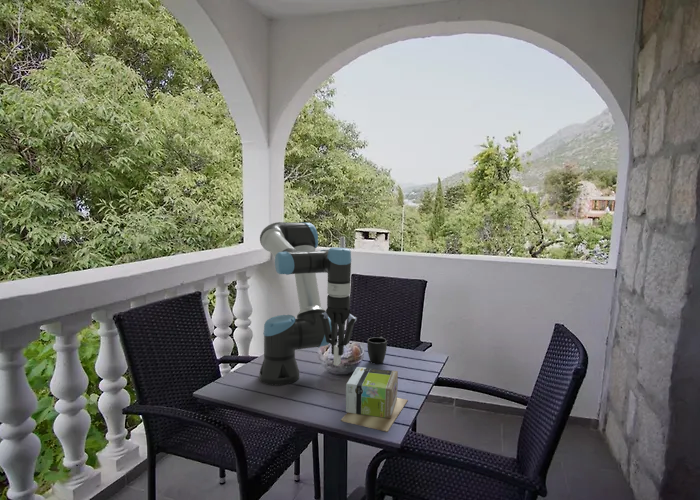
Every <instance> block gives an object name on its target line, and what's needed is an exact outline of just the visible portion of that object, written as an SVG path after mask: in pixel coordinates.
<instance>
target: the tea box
mask: <svg viewBox="0 0 700 500" xmlns="http://www.w3.org/2000/svg"><path fill="white" fill-rule="evenodd" d="M398 372H399V371H397V370H391V369H390V370H389V369H381V368H372V367H371V368H369V367H362V366H356V368H355V370H354V371H353V373H352V375H351V376H350V377H349V379H348V381H347V382H346V384H345V412H346V413H354V414H362V415H369V416H377V417H383V418H391V417H392V413H393V410H394V407H395V403H396V400H397V398H398V388H399V387H398V386H399V383H398V382H399V380H398V378H399V373H398Z"/></svg>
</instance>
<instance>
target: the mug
mask: <svg viewBox="0 0 700 500" xmlns="http://www.w3.org/2000/svg"><path fill="white" fill-rule="evenodd" d="M387 343H388V340H387V339H386V338H384V337H383V336H379V337H378V336H377V337H370V338H368V339H367V346H366V347H367V355H368V359H369V362H370V363H371V362H372V363H371V364H373V363H375V364H374V365H381V364H383V363H384V360H385V357H386V353H387V345H388V344H387ZM380 363H381V364H380Z"/></svg>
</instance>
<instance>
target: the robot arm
mask: <svg viewBox="0 0 700 500" xmlns="http://www.w3.org/2000/svg"><path fill="white" fill-rule="evenodd" d="M318 234H319V233H318V230H317V228H316V226H315V225H314V223H313V224H312V222H304V221H300V222H295V221H294V222H289V221H287V222H286V221H285V222H284V221H282V222H281V221H279V222H273V223H270V224H268V225H267V226H265V227H264V228H263V229H262V231H261V233H260V235H259V241H260V245H261V247H262V248H263V249H264V250H265V251H267V252H270V253H271V255H272V256H273V257H274V267H275V271H276V273H277V274H279V275H286V276H288V275H294V276H295V277H294V279H295V286H296V292H297V298H298V305H299V306H298V307H299V312H298V313H297V315H296V317H295V316H294V315H292V314H282V315H277V316H273V317H269V319H267V320H266V321H265V322H264V326H263V361H262V364H261V367H260V370H259V373H258V374H259V375H258V376H259V377H258V379H259V381H260V382H261V383H263V384H266V385H269V386H284V385H290V384H292V383H295V382H297V381H298V380H299V378H300V369H299V366H298V364H297V360H296V350H303V349H313V348H321V347H325V346H328V345H331V355H333V366H337V367H338V366H339V365H340V364H341V362H342V356H343V355H344V352H345V350H344V349H345V346H347V345H349V343H350V341H351V338H352V333H353V329H354V326H355V323H356V322H357V321H358V317H357V316H354V315H353V314H352V312H351V309H350V308H351V307H350V305H351V296H350V295H351V277H352V276H351V275H352V274H351V271H352V270H351V269H352V253H351V249H349V248H347V247H331V248H329V249H321V250H316V249H317V247H318V246H319V235H318ZM321 273H325V274H327V289H326V290H327V291H326V292H327V293H326V294H328V295H327V296H326V297H327V298H326V306H327V307H326V309H324V308H322V305H321V304H322V303H321V298H320V292H319V287H318V285H319V284H318V279H317V275H316V274H321ZM347 320H348V324H347V328H346V329H345V325H346V322H347Z"/></svg>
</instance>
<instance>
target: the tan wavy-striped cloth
mask: <svg viewBox="0 0 700 500" xmlns="http://www.w3.org/2000/svg"><path fill="white" fill-rule="evenodd" d="M407 402H408V399H405V398H400V397H397V400H396V403H395V407H394V410H393V413H392V417H391V418H383V417H377V416H369V415H362V414H354V413H348V412H346V414H345V415H344V416H343V417H342V418H341V419H340V422H342V423H343V422H344V423H348V424H352V425H355V426H360V427H363V428H364V427H366V428H369V429H374V430H378V431H382V432H386V433H388V432H389V430H390V429H391V427H392V426H393V424H394V423H395V421H396V419H397V418H398V417H399V415H400V414H401V411H402V410H403V408H404V407H405V406H406V404H407Z"/></svg>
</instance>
